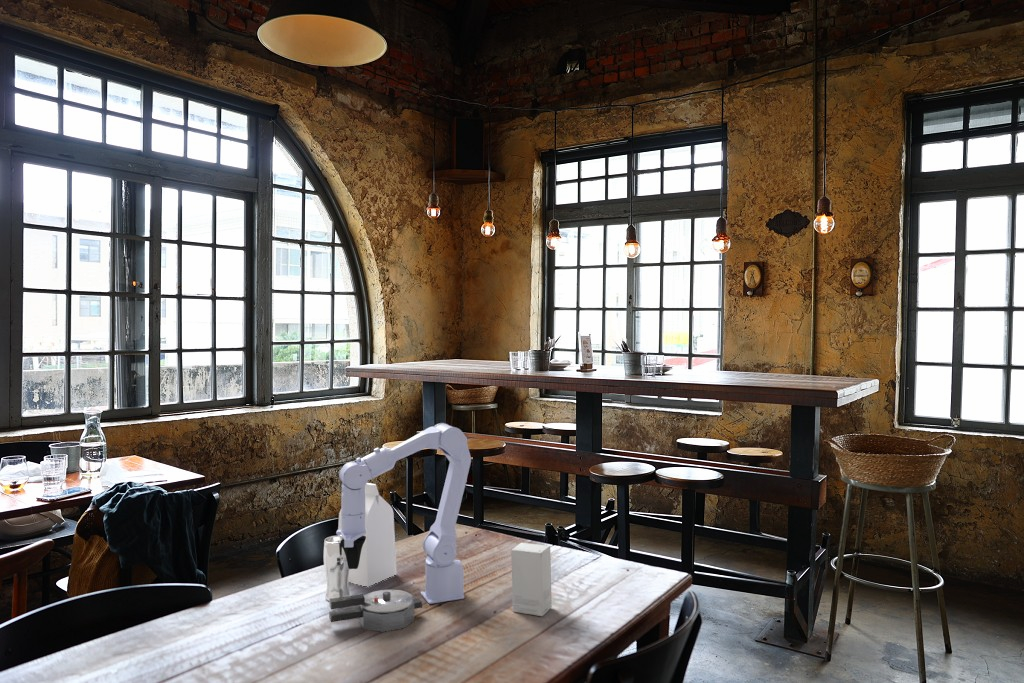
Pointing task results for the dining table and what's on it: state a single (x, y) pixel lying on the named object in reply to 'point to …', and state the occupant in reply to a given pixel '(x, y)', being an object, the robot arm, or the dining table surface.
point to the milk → (375, 541)
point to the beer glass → (335, 568)
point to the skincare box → (531, 579)
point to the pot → (378, 617)
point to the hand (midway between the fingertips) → (353, 568)
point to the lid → (376, 601)
